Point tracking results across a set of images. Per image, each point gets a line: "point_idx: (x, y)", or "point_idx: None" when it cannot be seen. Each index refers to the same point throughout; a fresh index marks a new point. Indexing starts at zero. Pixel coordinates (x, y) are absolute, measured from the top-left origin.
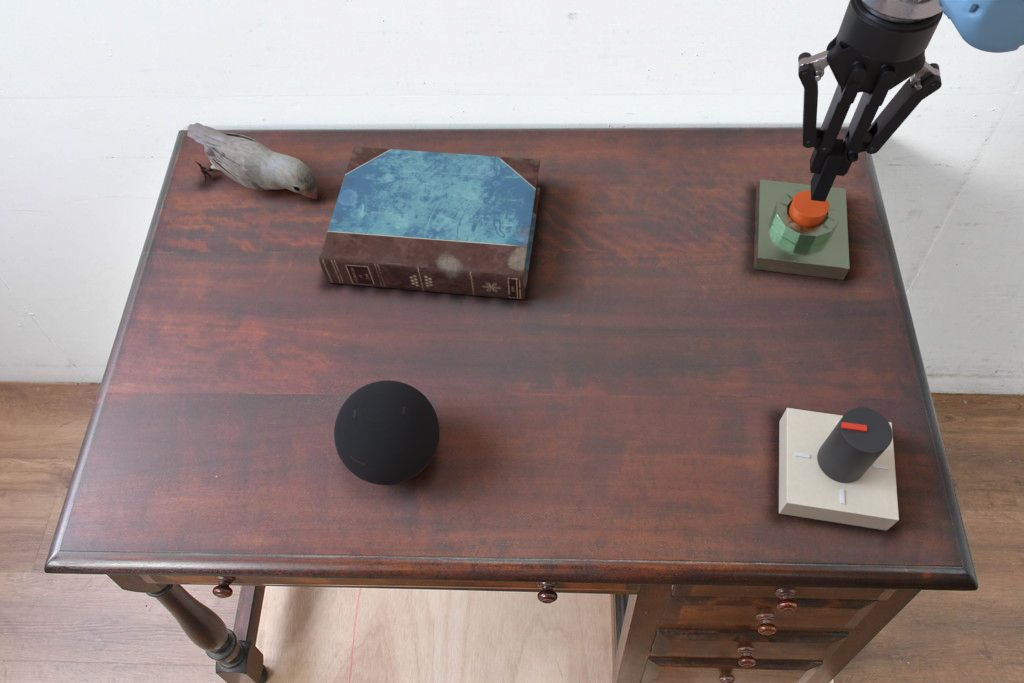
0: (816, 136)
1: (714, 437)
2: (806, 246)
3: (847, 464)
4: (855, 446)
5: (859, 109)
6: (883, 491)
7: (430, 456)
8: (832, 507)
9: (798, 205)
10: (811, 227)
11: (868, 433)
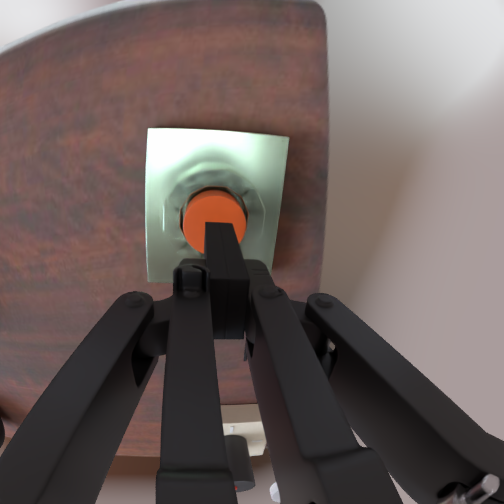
0: (156, 352)
1: (143, 415)
2: None
3: None
4: None
5: (274, 418)
6: (256, 448)
7: (3, 438)
8: None
9: (192, 232)
10: None
11: (238, 487)
